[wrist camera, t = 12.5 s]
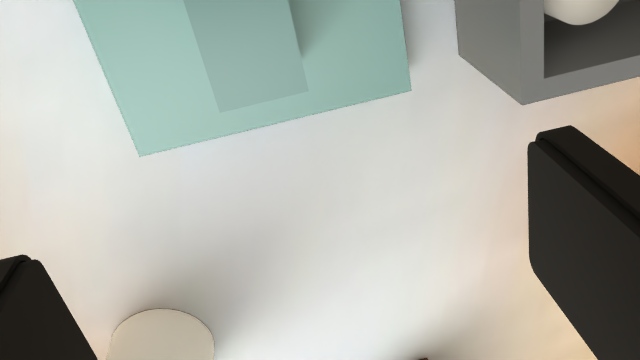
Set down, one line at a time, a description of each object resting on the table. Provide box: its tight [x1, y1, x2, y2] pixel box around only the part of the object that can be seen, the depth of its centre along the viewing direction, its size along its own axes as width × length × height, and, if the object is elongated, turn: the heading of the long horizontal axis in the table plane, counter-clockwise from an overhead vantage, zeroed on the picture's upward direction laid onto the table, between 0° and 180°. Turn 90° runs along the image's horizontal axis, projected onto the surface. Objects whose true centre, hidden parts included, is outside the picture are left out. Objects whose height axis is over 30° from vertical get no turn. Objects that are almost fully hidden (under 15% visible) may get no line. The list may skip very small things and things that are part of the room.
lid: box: [73, 0, 411, 157], centre depth 25 cm, size 15×13×7 cm
